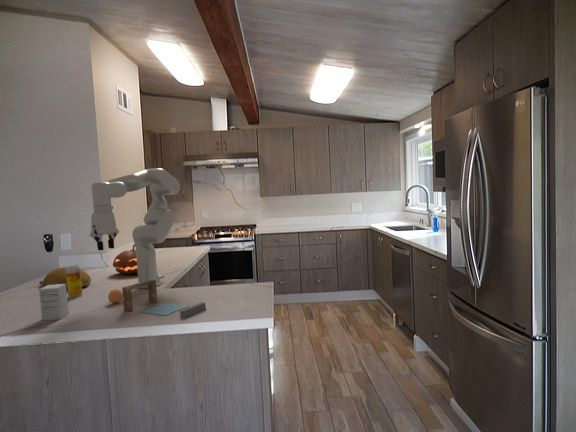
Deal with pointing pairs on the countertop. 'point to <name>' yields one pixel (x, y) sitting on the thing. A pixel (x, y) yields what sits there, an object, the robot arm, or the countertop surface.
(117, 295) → the ball
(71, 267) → the beer can
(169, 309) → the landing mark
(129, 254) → the pumpkin
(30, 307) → the countertop surface
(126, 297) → the bridge
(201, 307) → the stopper
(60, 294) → the supplement box
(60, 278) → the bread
